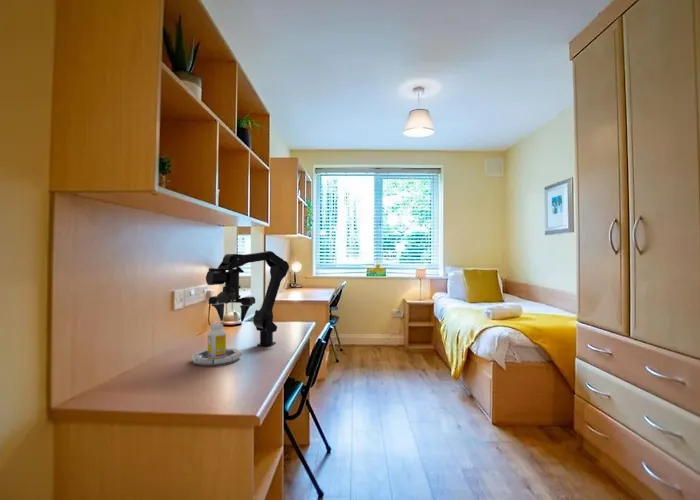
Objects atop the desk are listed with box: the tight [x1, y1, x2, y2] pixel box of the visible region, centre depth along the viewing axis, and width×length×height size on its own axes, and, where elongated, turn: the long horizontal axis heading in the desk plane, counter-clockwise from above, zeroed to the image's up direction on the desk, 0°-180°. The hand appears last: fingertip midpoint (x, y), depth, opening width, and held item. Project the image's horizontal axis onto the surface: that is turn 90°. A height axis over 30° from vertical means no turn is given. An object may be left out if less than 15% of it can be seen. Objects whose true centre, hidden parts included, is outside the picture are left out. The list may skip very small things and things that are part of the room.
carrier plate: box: [191, 347, 242, 367], centre depth 147 cm, size 17×17×2 cm
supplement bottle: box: [207, 322, 227, 358], centre depth 147 cm, size 7×7×13 cm
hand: (231, 321), depth 159 cm, fingers open, 9 cm apart
